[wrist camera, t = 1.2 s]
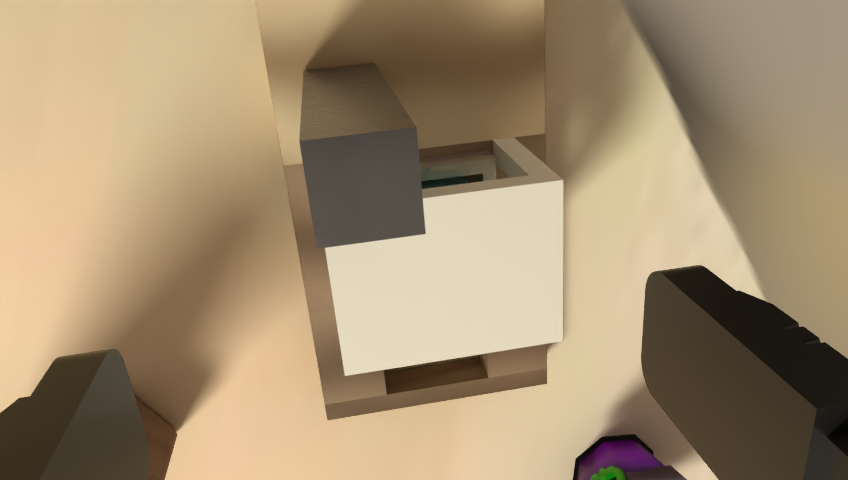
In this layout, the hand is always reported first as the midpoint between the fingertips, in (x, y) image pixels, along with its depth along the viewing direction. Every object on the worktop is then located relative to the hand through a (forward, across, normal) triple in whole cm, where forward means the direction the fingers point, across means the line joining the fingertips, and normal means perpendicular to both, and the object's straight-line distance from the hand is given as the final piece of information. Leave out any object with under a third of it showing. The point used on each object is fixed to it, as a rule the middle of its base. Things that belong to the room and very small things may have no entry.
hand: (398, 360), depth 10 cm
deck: (+22, -3, +5) cm, 23 cm away
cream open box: (+20, -3, +6) cm, 21 cm away
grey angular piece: (+20, -2, +4) cm, 20 cm away
